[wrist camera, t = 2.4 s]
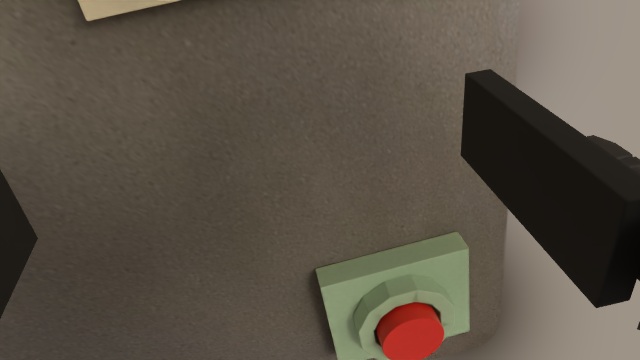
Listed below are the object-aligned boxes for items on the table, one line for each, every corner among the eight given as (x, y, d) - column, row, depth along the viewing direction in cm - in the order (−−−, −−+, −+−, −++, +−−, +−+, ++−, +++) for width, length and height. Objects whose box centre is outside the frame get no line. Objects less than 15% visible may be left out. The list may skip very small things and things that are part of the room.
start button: (434, 294, 38) (443, 311, 37) (437, 335, 41) (445, 352, 40) (372, 311, 38) (379, 329, 37) (379, 351, 41) (385, 369, 39)
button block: (457, 231, 40) (479, 263, 37) (459, 312, 46) (478, 347, 42) (315, 268, 39) (324, 305, 36) (334, 347, 45) (344, 385, 42)
